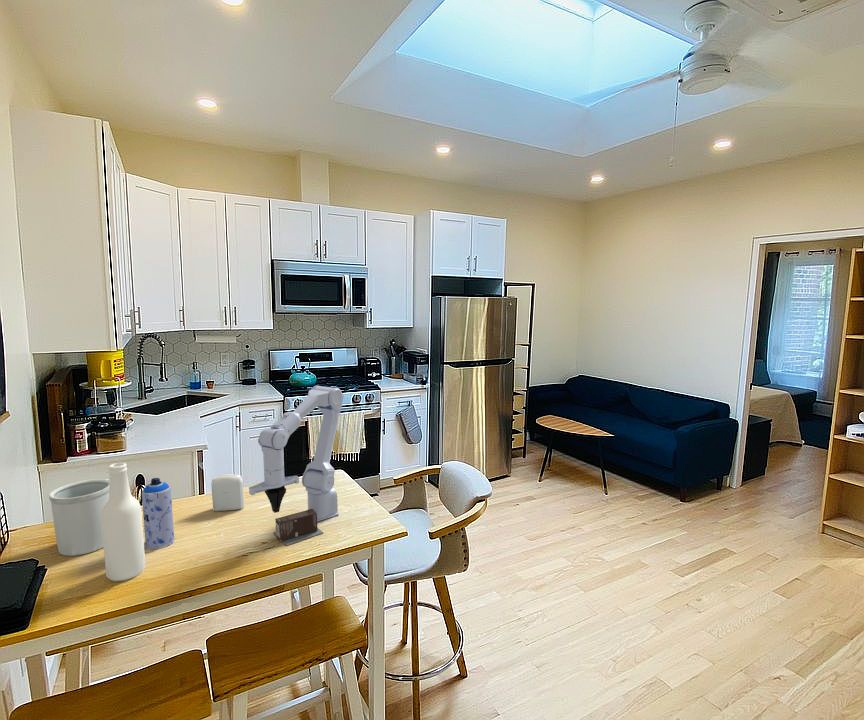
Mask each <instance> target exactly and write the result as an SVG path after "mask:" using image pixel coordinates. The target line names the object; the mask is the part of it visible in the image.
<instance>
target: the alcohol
mask: <svg viewBox="0 0 864 720" xmlns="http://www.w3.org/2000/svg"><path fill="white" fill-rule="evenodd" d="M127 465H128V464H127V463H126V462H114V463H112V464H110V465H109V466H108V467H107V468H108V474H109V476H108V477H109V479H108V480H109V500H108V502H107V503H106V504H105V506H104V507H103V509H102V513H101V522H102V534H103V545H104V547H103V552H104V553H103V554H104V564H105V565H104V566H105V576H106V578H108V580H110V581H112V582H124V581H127V580H132V579H133V578H136V577H137V576H139V575H140V574H141V573H142V572H143V571H144V570H145V567H146V556H145V553H146V551H145V542H144V540H145V538H144V525H143V512H142V506H141V504H140V502H139V500H138V499H137V498H135V497H134V496H133V495H132V494H131V493H132V492H131V487H130V482H129V477H128V476H129V475H128V471H127V470H128V467H127Z"/></svg>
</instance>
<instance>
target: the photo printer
mask: <svg viewBox="0 0 864 720" xmlns="http://www.w3.org/2000/svg"><path fill="white" fill-rule="evenodd" d="M244 496H245V494H244V481H243V477H242V475H239V474H233V473H226V474H219V475H217V476H214V477H212V479H211V498H212V499H211V500H212V509H213V511H214V512H221V511H235V510H236V511H237V510H242V509H244V508H245V499H244Z"/></svg>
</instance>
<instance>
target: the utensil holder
mask: <svg viewBox="0 0 864 720" xmlns="http://www.w3.org/2000/svg"><path fill="white" fill-rule="evenodd" d="M48 499H49V501H50V503H51V511H52V517H53V518H52V519H53V528H54V534H55V541H56V546H57V550H58V553H59V554H60V555H62V556H65V557H67V556H68V557H69V556H70V557H73V556H74V557H75V556H80V555H81V556H82V555H85V554H89V553H90V554H91V553H93V552H95V551H99V550H101V549H104V545H103V534H102V522H101V513H102V509H103V507H104V506H105V504H106V503H107V502H108V500H109V479H105V478H94V479H85V480H80V481H75V482H71V483H68V484H64V485H62V486H60V487H58V488H55V489H54V490H52V491H51V492H49V494H48Z"/></svg>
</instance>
